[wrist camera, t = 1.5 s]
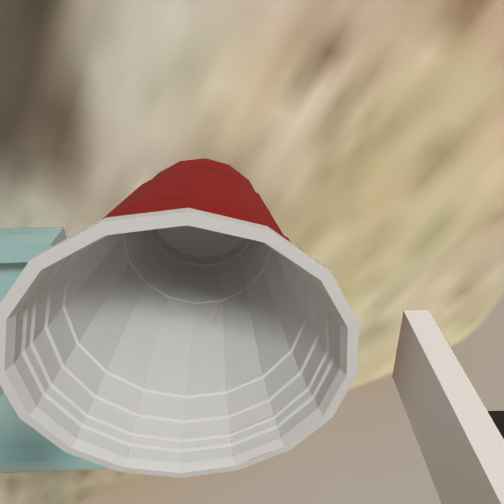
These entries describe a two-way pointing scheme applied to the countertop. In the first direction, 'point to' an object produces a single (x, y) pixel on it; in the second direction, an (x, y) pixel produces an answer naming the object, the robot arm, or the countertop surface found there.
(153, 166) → the countertop surface
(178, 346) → the plastic cup
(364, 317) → the countertop surface
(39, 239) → the tray
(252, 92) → the countertop surface
